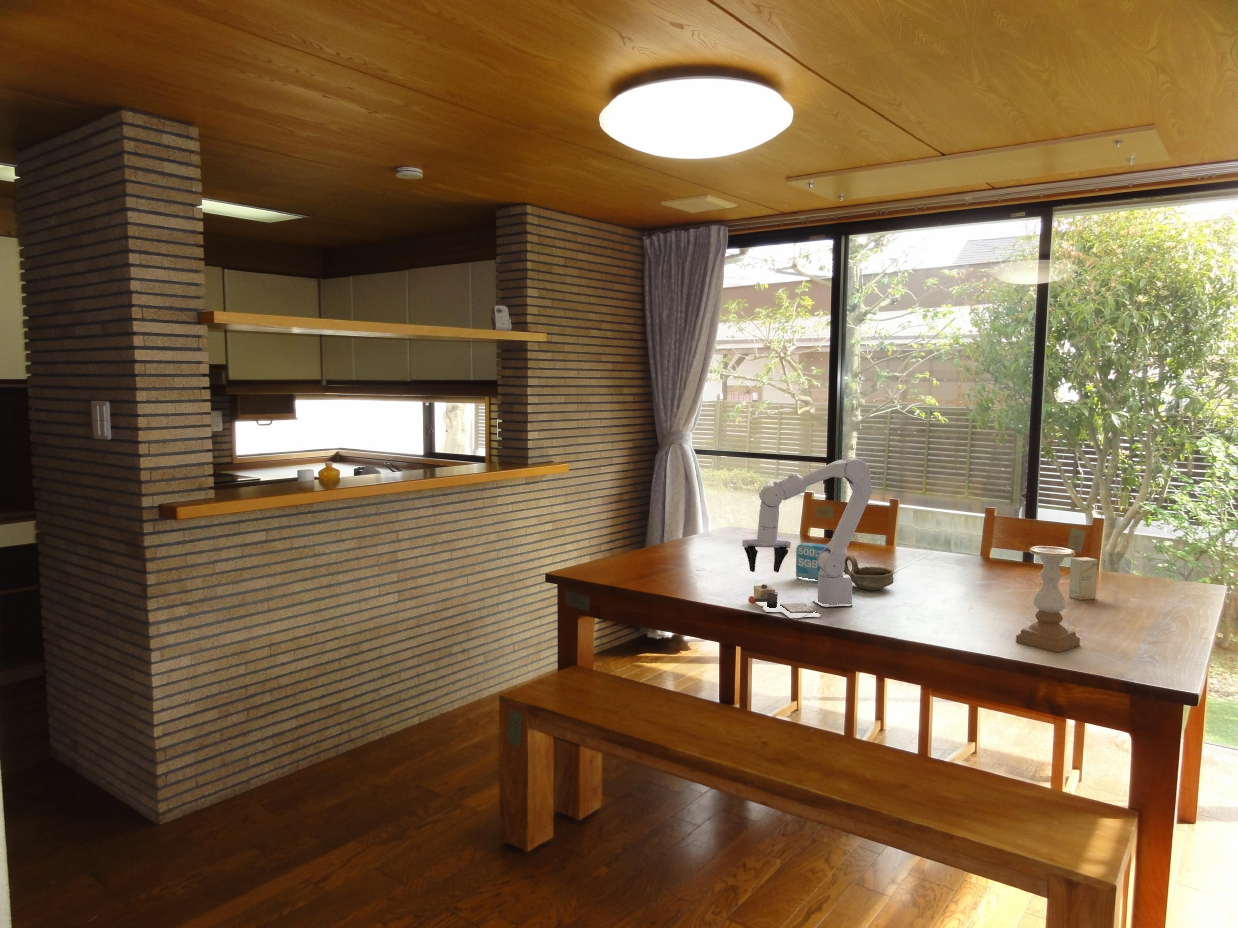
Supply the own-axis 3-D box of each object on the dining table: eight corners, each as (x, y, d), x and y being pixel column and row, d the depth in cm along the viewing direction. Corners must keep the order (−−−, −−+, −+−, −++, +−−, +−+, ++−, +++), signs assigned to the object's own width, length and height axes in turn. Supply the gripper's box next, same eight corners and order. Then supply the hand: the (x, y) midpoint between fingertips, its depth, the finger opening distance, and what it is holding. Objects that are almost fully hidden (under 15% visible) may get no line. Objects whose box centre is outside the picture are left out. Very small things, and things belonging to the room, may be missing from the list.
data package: (795, 579, 278) (796, 544, 277) (800, 576, 281) (801, 541, 280) (829, 584, 271) (830, 547, 270) (834, 581, 274) (835, 545, 273)
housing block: (768, 601, 249) (768, 582, 249) (774, 606, 244) (775, 586, 243) (753, 602, 248) (753, 583, 248) (759, 606, 243) (760, 587, 242)
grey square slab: (804, 606, 243) (804, 601, 243) (820, 617, 231) (820, 611, 231) (761, 608, 241) (761, 603, 240) (775, 619, 229) (775, 614, 229)
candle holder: (1058, 653, 200) (1063, 555, 198) (1014, 642, 209) (1018, 548, 206) (1080, 644, 206) (1085, 550, 204) (1037, 634, 215) (1041, 543, 213)
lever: (775, 604, 240) (775, 591, 239) (778, 607, 237) (779, 593, 236) (746, 606, 238) (746, 592, 238) (750, 608, 235) (750, 595, 235)
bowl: (882, 596, 254) (882, 564, 253) (831, 587, 266) (831, 556, 266) (902, 588, 264) (903, 558, 263) (852, 580, 276) (853, 550, 275)
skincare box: (1079, 600, 249) (1081, 560, 248) (1067, 596, 254) (1069, 557, 253) (1096, 598, 251) (1098, 559, 250) (1084, 595, 255) (1086, 556, 254)
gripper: (785, 524, 249) (781, 568, 251) (740, 523, 246) (736, 567, 247) (795, 528, 242) (791, 574, 244) (749, 527, 239) (745, 573, 240)
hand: (764, 571), depth 245 cm, fingers open, 7 cm apart
